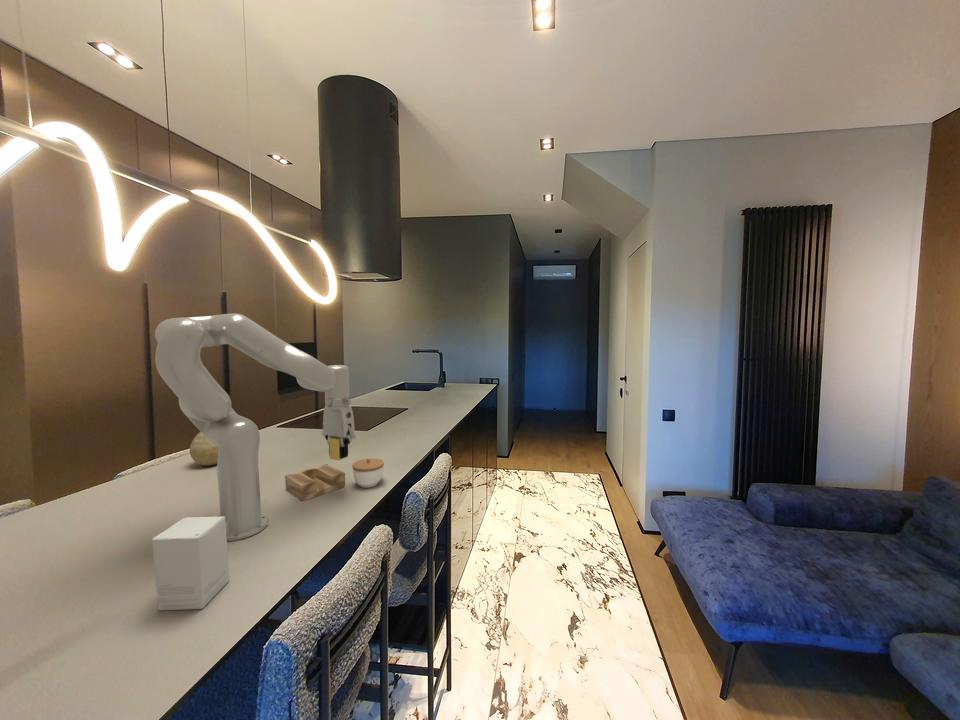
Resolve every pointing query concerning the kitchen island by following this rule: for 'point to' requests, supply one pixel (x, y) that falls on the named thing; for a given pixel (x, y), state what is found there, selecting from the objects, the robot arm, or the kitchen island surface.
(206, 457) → the fossilized egg
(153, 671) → the kitchen island surface
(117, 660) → the kitchen island surface
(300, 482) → the notched board
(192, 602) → the supplement box
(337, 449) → the yellow upright block
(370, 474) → the lidded jar
